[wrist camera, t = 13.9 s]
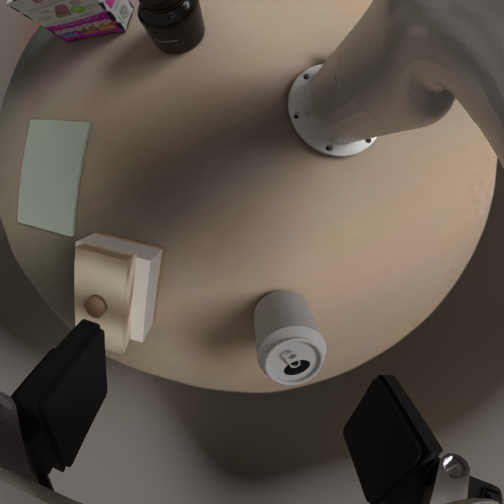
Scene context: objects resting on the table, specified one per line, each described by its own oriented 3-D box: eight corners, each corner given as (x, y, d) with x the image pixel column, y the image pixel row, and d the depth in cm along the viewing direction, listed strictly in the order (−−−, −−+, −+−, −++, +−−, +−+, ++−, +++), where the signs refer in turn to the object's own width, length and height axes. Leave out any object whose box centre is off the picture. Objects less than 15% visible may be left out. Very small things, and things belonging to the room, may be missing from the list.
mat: (33, 120, 30) (30, 119, 29) (91, 122, 31) (89, 122, 31) (19, 221, 34) (17, 221, 33) (74, 236, 35) (71, 236, 35)
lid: (88, 240, 29) (70, 249, 26) (137, 253, 30) (123, 264, 26) (86, 327, 32) (73, 343, 28) (130, 342, 33) (119, 359, 29)
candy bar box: (135, 6, 27) (92, -55, 11) (126, 32, 28) (74, -25, 12) (74, 17, 26) (19, -25, 10) (65, 43, 27) (3, 6, 11)
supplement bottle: (165, 63, 30) (135, 23, 18) (149, 29, 28) (119, -14, 16) (214, 41, 29) (203, -7, 18) (195, 8, 28) (180, -42, 16)
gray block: (97, 231, 35) (75, 241, 29) (164, 247, 36) (150, 260, 30) (93, 302, 38) (75, 320, 32) (154, 320, 39) (142, 342, 33)
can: (265, 342, 40) (273, 399, 29) (244, 300, 38) (246, 351, 27) (314, 323, 40) (337, 375, 28) (296, 278, 38) (319, 322, 26)
